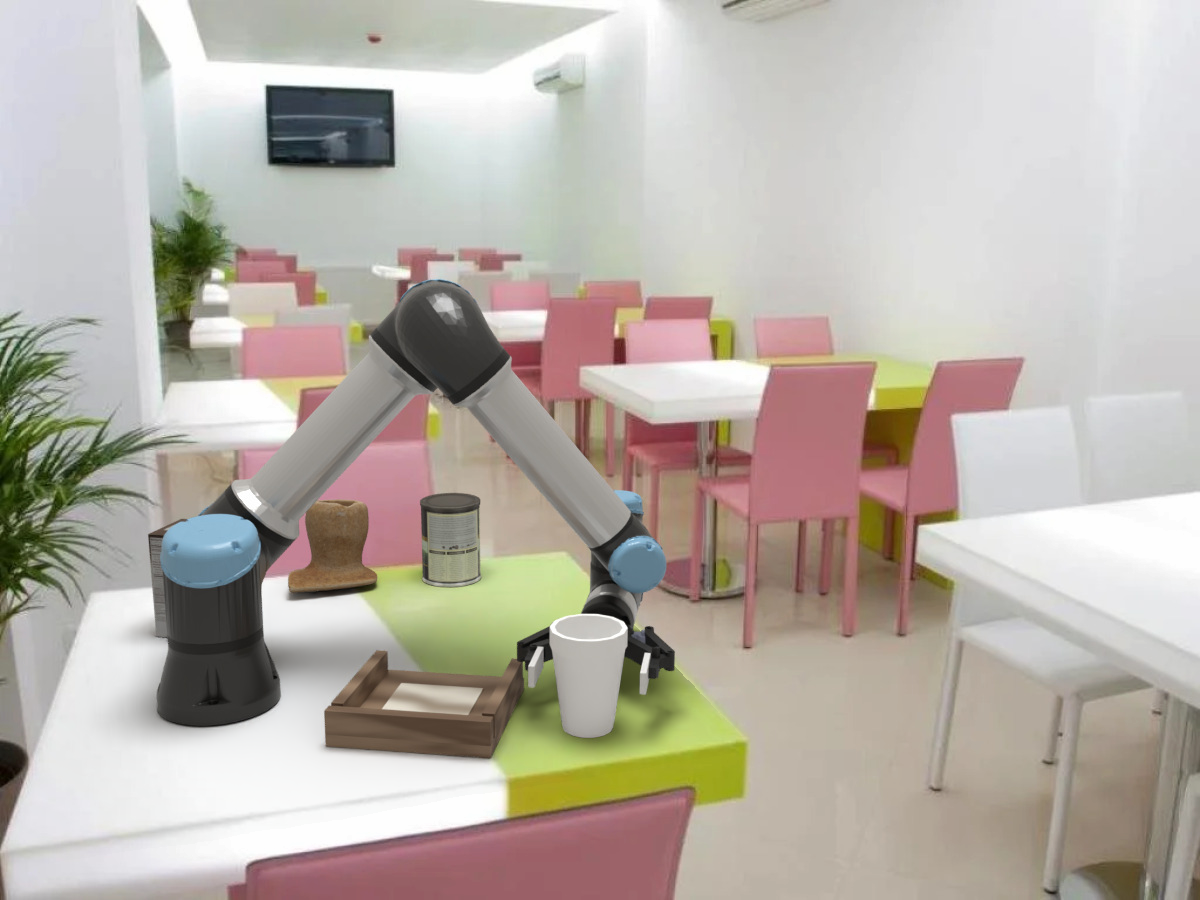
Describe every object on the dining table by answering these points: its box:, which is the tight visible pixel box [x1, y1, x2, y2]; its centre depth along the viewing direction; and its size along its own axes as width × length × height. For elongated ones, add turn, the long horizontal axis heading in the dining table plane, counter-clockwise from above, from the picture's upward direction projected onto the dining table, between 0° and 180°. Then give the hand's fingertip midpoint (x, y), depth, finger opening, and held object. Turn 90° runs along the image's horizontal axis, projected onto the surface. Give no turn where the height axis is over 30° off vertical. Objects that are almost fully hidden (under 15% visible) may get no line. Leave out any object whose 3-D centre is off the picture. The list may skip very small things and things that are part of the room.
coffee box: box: [147, 518, 188, 638], centre depth 170 cm, size 9×6×16 cm
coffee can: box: [419, 492, 482, 588], centre depth 195 cm, size 10×10×14 cm
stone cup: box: [287, 499, 378, 594], centre depth 190 cm, size 15×12×15 cm
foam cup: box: [549, 613, 628, 739], centre depth 138 cm, size 10×9×13 cm
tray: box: [323, 649, 525, 759], centre depth 142 cm, size 20×20×4 cm
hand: (586, 680), depth 136 cm, fingers open, 13 cm apart
